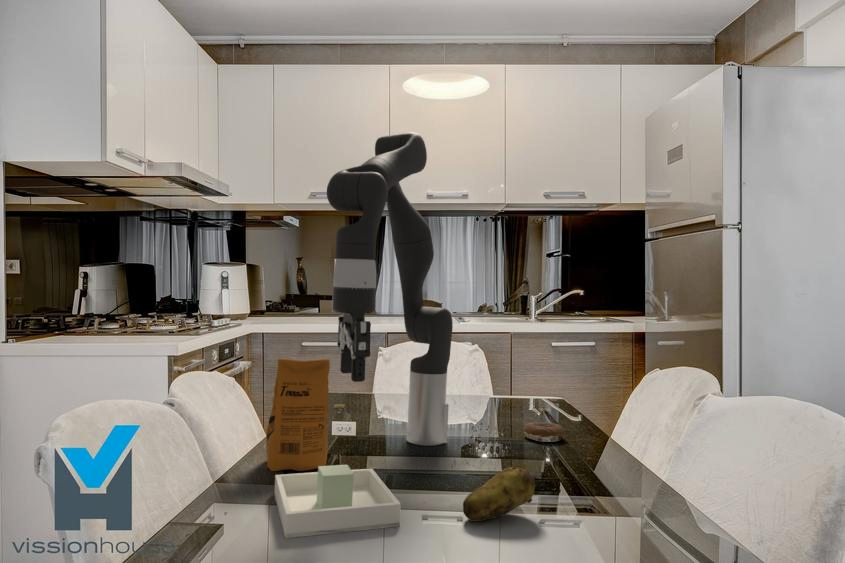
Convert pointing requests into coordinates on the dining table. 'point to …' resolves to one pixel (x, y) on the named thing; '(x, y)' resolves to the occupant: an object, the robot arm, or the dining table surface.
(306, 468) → the coffee package
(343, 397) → the dining table surface
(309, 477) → the bin
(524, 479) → the potato
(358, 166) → the robot arm
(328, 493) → the green cube
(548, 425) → the donut
